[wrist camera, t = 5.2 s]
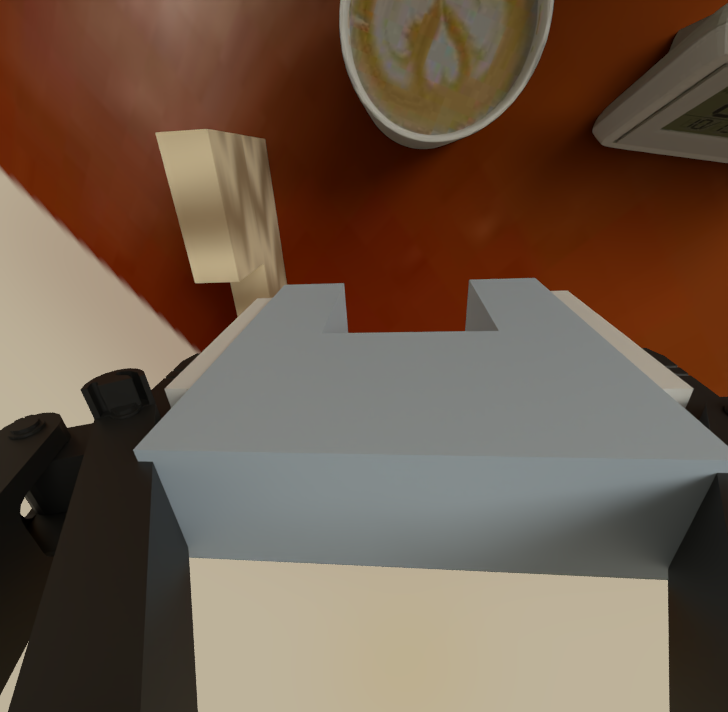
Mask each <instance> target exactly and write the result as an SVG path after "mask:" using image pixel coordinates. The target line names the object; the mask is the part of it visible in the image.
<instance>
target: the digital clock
mask: <svg viewBox="0 0 728 712" xmlns="http://www.w3.org/2000/svg"><path fill="white" fill-rule="evenodd" d="M592 133H593V134H594V136H595V137H596V138H597V140H598V141H599V142H600V143H601V144H602V145H603V146H607V147H612V148H619V149H625V150H633V151H640V152H647V153H655V154H662V155H670V156H677V157H685V158H692V159H700V160H707V161H715V162H722V163H728V3H727V4H726V5H724V6H723V7H721V8H720V9H719V10H718V11H717V12H715V13H714V14H713V15H710V16H708V17H706V18H704V19H702V20H700V21H698V22H696V23H693V24H691V25H689V26H687V27H685V28H683V29H681V30H679V31H678V33H677V34H676V36H675V38H674V40H673V43H672V45H671V48H670V50H669V53H668V54H667V55H666V56H664V57H663V58H662V59H661V60H660V61H659V62H658V63H656V64H655V65H654V66H653V67H652V68H651V69H650V70H648V71H647V72H646V73H645V74H644V75H643V76H642V77H640V78H639V79H638V80H637V81H636V82H635V83H634V84H632V85H631V86H630V87H629V88H628V89H627V90H626V91H624V92H623V93H622V94H621V95H620V96H619V97H618V98H616V99H615V100H614V101H613V102H612V103H611V104H610V105H609V106H608V107H607V108H606V109H605V110H604V111H603V112H602V113H601V114H600V115H599V116H598V118H597V120H596V122H595V123H594V126H593V130H592Z"/></svg>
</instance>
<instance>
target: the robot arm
mask: <svg viewBox="0 0 728 712" xmlns="http://www.w3.org/2000/svg"><path fill="white" fill-rule="evenodd" d="M550 292H552V293H553V294H554V295H555V296H556V297H557V298H559V299H560V300H561V301H562V302H563V303H564V304H565V305H567V306H568V307H569V308H570V309H571V310H572V311H573V312H575V313H576V314H577V315H578V316H579V317H580V318H581V319H583V320H584V321H585V322H586V323H587V324H588V325H589V326H591V327H592V328H593V329H594V330H595V331H596V332H598V333H599V334H600V335H601V336H602V337H603V338H604V339H606V340H607V341H608V342H609V343H610V344H611V345H612V346H614V347H615V348H616V349H617V350H618V351H619V352H620V353H622V354H623V355H624V356H625V357H626V358H627V359H629V360H630V361H631V362H632V363H633V364H634V365H635V366H637V367H638V368H639V369H640V370H641V371H642V372H643V373H645V374H646V375H647V376H648V377H649V378H650V379H651V380H653V381H654V382H655V383H656V384H657V385H658V386H659V387H661V388H662V389H663V390H664V391H665V392H666V393H668V394H669V395H670V396H671V397H672V398H673V399H674V400H676V401H677V402H678V403H679V404H680V405H681V406H682V407H684V408H685V409H686V410H687V411H688V412H689V413H690V414H692V415H693V416H694V417H695V418H696V419H697V420H699V421H700V422H701V423H702V424H703V425H704V426H705V427H707V428H708V429H709V430H710V431H711V432H712V433H713V434H715V435H716V436H717V437H718V438H719V439H720V440H721V441H723V442H724V443H725V444H726V445H727V446H728V397H719V396H718V395H716V394H715V393H714V392H712V391H711V390H710V389H708V388H707V387H705V386H704V385H703V384H701V383H700V382H699V381H697V380H696V379H695V378H693V377H692V376H688V373H687V372H685V371H684V370H682V369H681V368H677V365H676V364H674V363H673V362H672V361H670V360H669V359H668V358H666V357H665V356H663V355H661V354H658V353H656V352H654V351H651V350H649V349H647V348H641V347H639V346H638V345H637V344H636V343H634V342H633V341H632V340H630V339H629V338H628V337H626V336H625V335H624V334H623V333H621V332H620V331H619V330H617V329H616V328H615V327H614V326H612V325H611V324H610V323H608V322H607V321H606V320H605V319H603V318H602V317H601V316H599V315H598V314H597V313H596V312H594V311H593V310H592V309H590V308H589V307H588V306H587V305H585V304H584V303H583V302H581V301H580V300H579V299H578V298H576V297H575V296H574V295H572V294H571V293H570V292H569V291H550ZM271 299H272V298H257V299H256V300H255V301H254V302H253V303H252V304H251V305H250V306H249V307H248V308H247V309H246V310H245V311H244V312H243V313H242V314H241V315H240V316H239V317H237V318H236V319H235V320H234V321H233V322H232V323H231V324H230V325H229V326H228V327H227V328H226V329H225V330H224V331H223V332H222V333H221V334H220V335H219V336H218V337H217V338H216V339H215V340H214V341H213V342H212V343H211V344H210V345H209V346H208V347H207V348H206V349H205V350H204V351H203V352H202V353H201V354H195V355H193V356H191V357H189V358H188V359H186V360H184V361H182V362H181V363H180V364H179V365H178V366H177V367H176V368H175V369H174V371H171V372H170V373H169V374H168V375H167V376H166V378H165V379H163V380H162V381H161V382H160V383H159V384H158V385H156V386H155V387H154V388H153V389H152V390H151V389H150V387H149V384H148V381H147V379H146V376H145V374H144V371H142V370H140V369H131V368H130V369H121V370H116V371H112V372H109V373H105V374H103V375H101V376H98V377H96V378H94V379H92V380H91V381H89V382H88V383H86V384H85V385H84V386H83V388H82V389H81V391H82V394H83V396H84V398H85V400H86V402H87V404H88V406H89V408H90V411H91V413H92V415H93V417H94V423H92V424H86V425H81V426H75V427H70V428H67V427H66V425H65V424H64V422H63V420H62V418H61V416H60V415H59V414H56V413H42V414H37V415H29V416H26V417H25V418H20V419H18V420H16V421H15V422H14V423H12V424H10V425H8V426H6V427H4V428H3V429H2V430H0V694H1V693H2V691H3V689H4V687H5V685H6V683H7V681H8V679H9V677H10V675H11V673H12V672H13V670H14V668H15V666H16V664H17V662H18V660H19V658H20V657H21V655H22V653H23V651H24V649H25V647H26V645H27V643H28V646H27V649H26V652H25V656H24V659H23V663H22V666H21V669H20V673H19V676H18V680H17V683H16V686H15V690H14V693H13V697H12V700H11V703H10V707H9V710H8V712H198V709H197V690H196V673H195V656H194V638H193V620H192V605H191V604H192V603H191V585H190V567H189V550H188V545H187V543H186V541H185V538H184V536H183V533H182V531H181V528H180V526H179V524H178V521H177V519H176V516H175V514H174V512H173V509H172V507H171V504H170V502H169V499H168V497H167V495H166V492H165V490H164V487H163V485H162V483H161V480H160V478H159V475H158V473H157V470H156V468H155V466H154V463H153V462H148V461H138V460H137V458H136V456H135V454H134V451H133V449H134V448H135V447H136V446H137V445H138V444H139V443H140V442H141V441H142V440H143V439H144V437H145V436H146V435H147V434H148V433H149V432H150V431H151V430H152V429H153V428H154V427H155V425H156V424H157V423H158V422H159V421H160V420H161V419H162V418H163V417H164V416H165V415H166V414H167V412H168V411H169V410H170V409H171V408H172V407H173V406H174V405H175V404H176V403H177V402H178V400H179V399H180V398H181V397H182V396H183V395H184V394H185V393H186V392H187V391H188V390H189V388H190V387H191V386H192V385H193V384H194V383H195V382H196V381H197V380H198V379H199V378H200V376H201V375H202V374H203V373H204V372H205V371H206V370H207V369H208V368H209V367H210V366H211V364H212V363H213V362H214V361H215V360H216V359H217V358H218V357H219V356H220V355H221V354H222V352H223V351H224V350H225V349H226V348H227V347H228V346H229V345H230V344H231V343H232V342H233V341H234V339H235V338H236V337H237V336H238V335H239V334H240V333H241V332H242V331H243V330H244V329H245V327H246V326H247V325H248V324H249V323H250V322H251V321H252V320H253V319H254V318H255V317H256V315H257V314H258V313H259V312H260V311H261V310H262V309H263V308H264V307H265V306H266V305H267V303H268V302H269V301H270V300H271ZM24 497H25V498H26V500H27V501H28V503H29V504H30V506H31V507H32V509H31V510H30V512H29V513H28V514H27V516H26V517H23V516H22V515H21V514H20V507H21V503H22V501H23V499H24ZM668 607H669V608H668V610H669V611H668V613H669V695H670V697H669V700H670V712H728V473H717V474H716V476H715V478H714V480H713V482H712V484H711V486H710V488H709V490H708V492H707V494H706V495H705V497H704V499H703V501H702V503H701V505H700V507H699V509H698V511H697V513H696V515H695V517H694V519H693V521H692V523H691V525H690V527H689V529H688V530H687V532H686V534H685V536H684V538H683V540H682V542H681V544H680V546H679V548H678V550H677V552H676V554H675V556H674V558H673V560H672V562H671V564H670V566H669V567H668ZM28 641H29V642H28Z"/></svg>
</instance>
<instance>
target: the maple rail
mask: <svg viewBox="0 0 728 712" xmlns="http://www.w3.org/2000/svg"><path fill="white" fill-rule="evenodd" d="M156 137H157V141H158V145H159V148H160V152H161V156H162V160H163V164H164V167H165V171H166V175H167V179H168V182H169V186H170V190H171V194H172V198H173V201H174V205H175V209H176V213H177V217H178V220H179V224H180V228H181V232H182V235H183V239H184V243H185V247H186V251H187V254H188V258H189V262H190V266H191V269H192V273H193V277H194V281H195V283H219V282H230V284H231V289H232V293H233V298H234V302H235V307H236V311H237V316H238V317H239V316H240V315H241V314H242V313H243V312H244V311H245V310H246V309H247V308H248V307H249V306H250V305H251V304H252V303H253V302H254V301H255V300H256V299H257V298H273V297H274V296H275V295H276V294H277V293H278V291H279V290H280V289H281V288H282V287H283V286H284V285H287V281H286V275H285V268H284V261H283V255H282V248H281V241H280V235H279V228H278V221H277V215H276V208H275V201H274V195H273V188H272V181H271V175H270V168H269V161H268V155H267V148H266V141H265V139H262V138H256V137H251V136H245V135H239V134H234V133H228V132H222V131H217V130H211V129H198V130H184V131H170V132H156Z"/></svg>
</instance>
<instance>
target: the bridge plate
mask: <svg viewBox="0 0 728 712" xmlns="http://www.w3.org/2000/svg"><path fill="white" fill-rule="evenodd" d="M133 451H134V454H135V456H136V458H137V460H138V461H148V462H153V463H154V466H155V468H156V470H157V473H158V475H159V478H160V480H161V483H162V485H163V487H164V490H165V492H166V495H167V497H168V499H169V502H170V504H171V507H172V509H173V512H174V514H175V516H176V519H177V521H178V524H179V526H180V528H181V531H182V533H183V536H184V538H185V541H186V543H187V545H188V550H189V557H191V558H213V559H233V560H254V561H276V562H296V563H298V562H299V563H317V564H340V565H361V566H382V567H403V568H425V569H446V570H466V571H488V572H508V573H530V574H552V575H573V576H594V577H616V578H636V579H657V580H668V567H669V566H670V564H671V562H672V560H673V558H674V556H675V554H676V552H677V550H678V548H679V546H680V544H681V542H682V540H683V538H684V536H685V534H686V532H687V530H688V529H689V527H690V525H691V523H692V521H693V519H694V517H695V515H696V513H697V511H698V509H699V507H700V505H701V503H702V501H703V499H704V497H705V495H706V494H707V492H708V490H709V488H710V486H711V484H712V482H713V480H714V478H715V476H716V474H717V473H728V446H727V445H726V444H725V443H724V442H723V441H721V440H720V439H719V438H718V437H717V436H716V435H715V434H713V433H712V432H711V431H710V430H709V429H708V428H707V427H705V426H704V425H703V424H702V423H701V422H700V421H699V420H697V419H696V418H695V417H694V416H693V415H692V414H690V413H689V412H688V411H687V410H686V409H685V408H684V407H682V406H681V405H680V404H679V403H678V402H677V401H676V400H674V399H673V398H672V397H671V396H670V395H669V394H668V393H666V392H665V391H664V390H663V389H662V388H661V387H659V386H658V385H657V384H656V383H655V382H654V381H653V380H651V379H650V378H649V377H648V376H647V375H646V374H645V373H643V372H642V371H641V370H640V369H639V368H638V367H637V366H635V365H634V364H633V363H632V362H631V361H630V360H629V359H627V358H626V357H625V356H624V355H623V354H622V353H620V352H619V351H618V350H617V349H616V348H615V347H614V346H612V345H611V344H610V343H609V342H608V341H607V340H606V339H604V338H603V337H602V336H601V335H600V334H599V333H598V332H596V331H595V330H594V329H593V328H592V327H591V326H589V325H588V324H587V323H586V322H585V321H584V320H583V319H581V318H580V317H579V316H578V315H577V314H576V313H575V312H573V311H572V310H571V309H570V308H569V307H568V306H567V305H565V304H564V303H563V302H562V301H561V300H560V299H559V298H557V297H556V296H555V295H554V294H553V293H552V292H550V291H549V290H548V289H547V288H546V287H545V286H544V285H542V284H541V283H540V282H539V281H538V280H537V279H536V278H517V279H481V280H469V289H468V302H467V315H466V327H465V331H460V332H391V333H348V327H347V314H346V301H345V289H344V283H338V284H302V285H284V286H283V287H282V288H281V289H280V290H279V291H278V293H277V294H276V295H275V296H274V297H273V298H272V299H271V300H270V301H269V302H268V303H267V305H266V306H265V307H264V308H263V309H262V310H261V311H260V312H259V313H258V314H257V315H256V317H255V318H254V319H253V320H252V321H251V322H250V323H249V324H248V325H247V326H246V327H245V329H244V330H243V331H242V332H241V333H240V334H239V335H238V336H237V337H236V338H235V339H234V341H233V342H232V343H231V344H230V345H229V346H228V347H227V348H226V349H225V350H224V351H223V352H222V354H221V355H220V356H219V357H218V358H217V359H216V360H215V361H214V362H213V363H212V364H211V366H210V367H209V368H208V369H207V370H206V371H205V372H204V373H203V374H202V375H201V376H200V378H199V379H198V380H197V381H196V382H195V383H194V384H193V385H192V386H191V387H190V388H189V390H188V391H187V392H186V393H185V394H184V395H183V396H182V397H181V398H180V399H179V400H178V402H177V403H176V404H175V405H174V406H173V407H172V408H171V409H170V410H169V411H168V412H167V414H166V415H165V416H164V417H163V418H162V419H161V420H160V421H159V422H158V423H157V424H156V425H155V427H154V428H153V429H152V430H151V431H150V432H149V433H148V434H147V435H146V436H145V437H144V439H143V440H142V441H141V442H140V443H139V444H138V445H137V446H136V447H135V448H134V449H133Z"/></svg>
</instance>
